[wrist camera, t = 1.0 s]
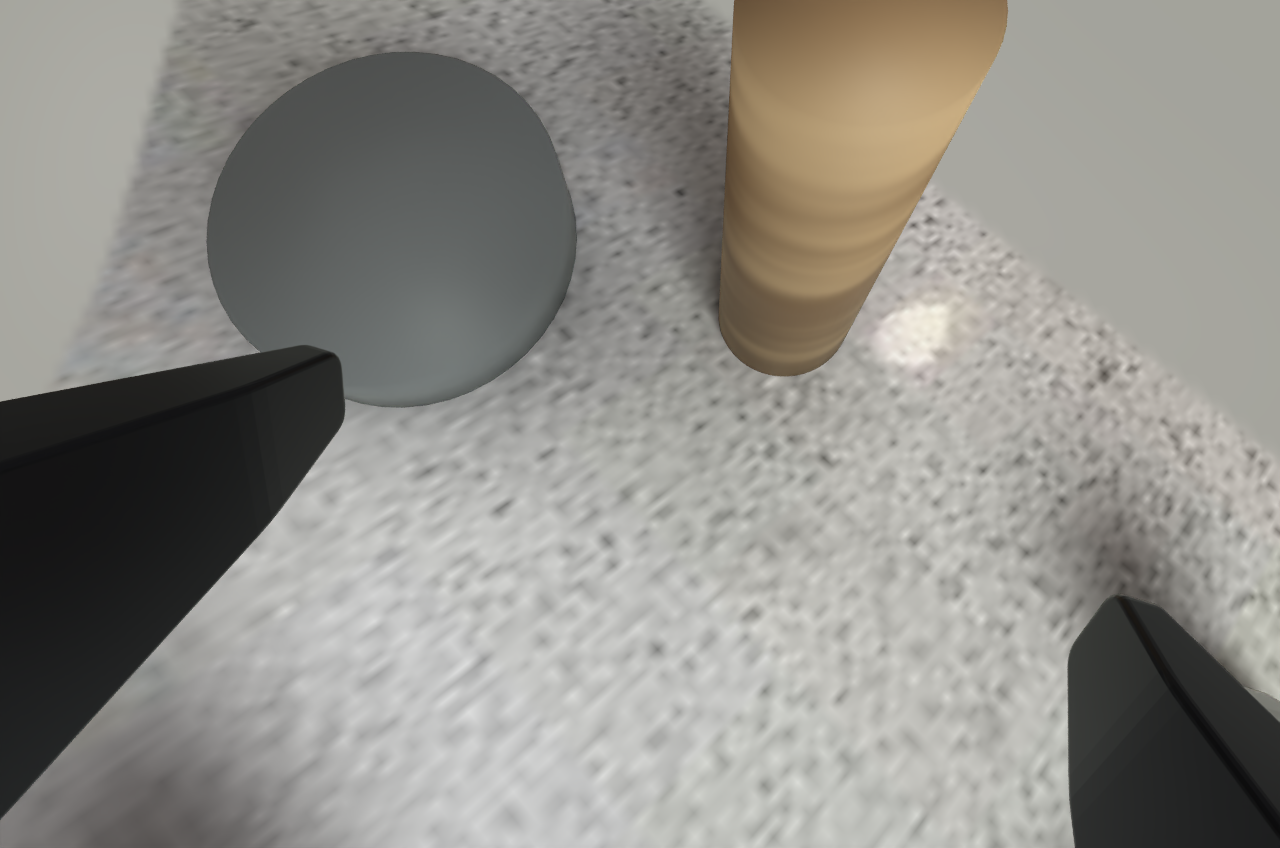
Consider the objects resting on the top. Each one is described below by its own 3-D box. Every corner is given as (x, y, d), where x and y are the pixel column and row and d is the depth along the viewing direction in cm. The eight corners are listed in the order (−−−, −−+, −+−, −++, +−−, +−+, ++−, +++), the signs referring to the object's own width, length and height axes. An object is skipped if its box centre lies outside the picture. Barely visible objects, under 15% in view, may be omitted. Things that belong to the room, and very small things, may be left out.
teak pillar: (853, 373, 23) (1025, 115, 11) (721, 379, 23) (739, 134, 11) (843, 252, 24) (989, -114, 11) (715, 258, 24) (727, -90, 12)
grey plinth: (576, 400, 23) (561, 377, 21) (238, 414, 24) (186, 393, 22) (576, 91, 26) (563, 39, 23) (270, 113, 27) (227, 65, 24)
